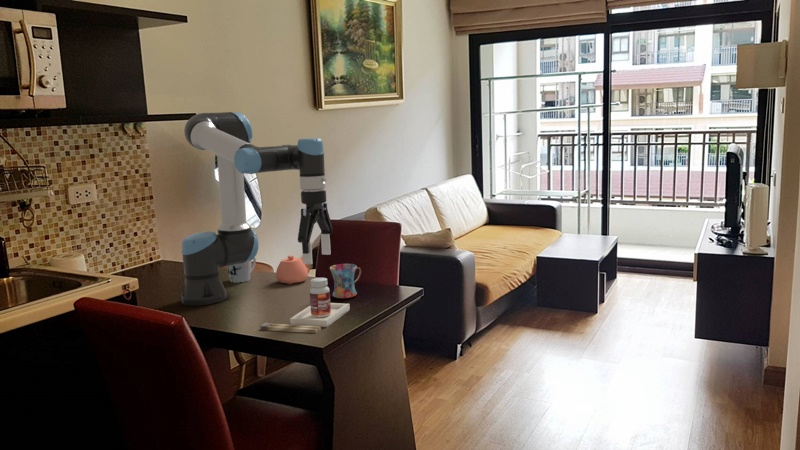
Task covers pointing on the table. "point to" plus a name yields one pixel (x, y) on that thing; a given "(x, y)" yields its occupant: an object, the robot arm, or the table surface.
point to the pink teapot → (292, 270)
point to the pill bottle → (320, 298)
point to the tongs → (290, 328)
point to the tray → (309, 320)
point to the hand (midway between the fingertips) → (317, 259)
